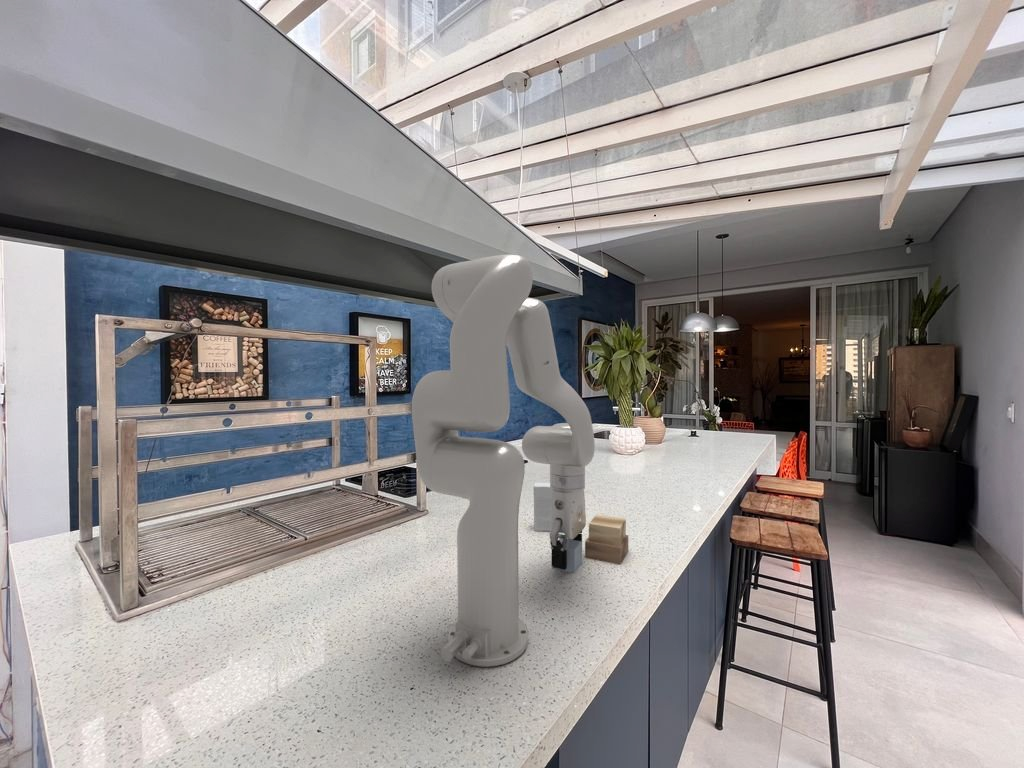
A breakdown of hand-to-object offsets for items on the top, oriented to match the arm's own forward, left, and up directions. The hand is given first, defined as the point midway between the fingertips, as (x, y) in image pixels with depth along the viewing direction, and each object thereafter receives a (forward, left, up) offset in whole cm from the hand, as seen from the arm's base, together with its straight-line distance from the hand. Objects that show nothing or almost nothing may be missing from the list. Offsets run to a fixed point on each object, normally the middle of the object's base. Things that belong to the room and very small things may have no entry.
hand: (567, 558), depth 92 cm
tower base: (+10, -6, -2) cm, 12 cm away
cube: (0, 0, -2) cm, 2 cm away
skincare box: (+18, +13, -2) cm, 22 cm away
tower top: (+10, -6, +2) cm, 12 cm away
